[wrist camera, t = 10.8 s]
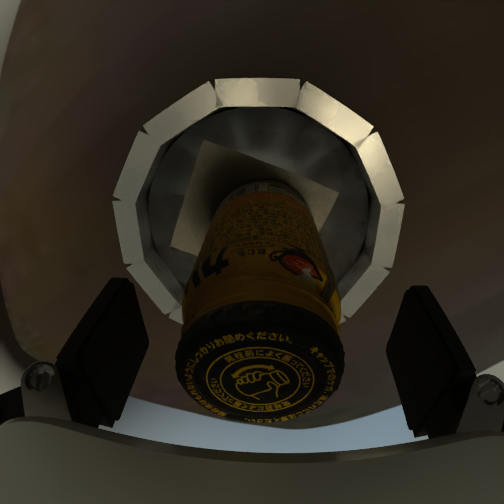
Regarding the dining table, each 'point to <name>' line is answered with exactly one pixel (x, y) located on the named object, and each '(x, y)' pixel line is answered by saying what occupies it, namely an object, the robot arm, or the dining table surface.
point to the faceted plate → (271, 151)
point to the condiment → (257, 290)
